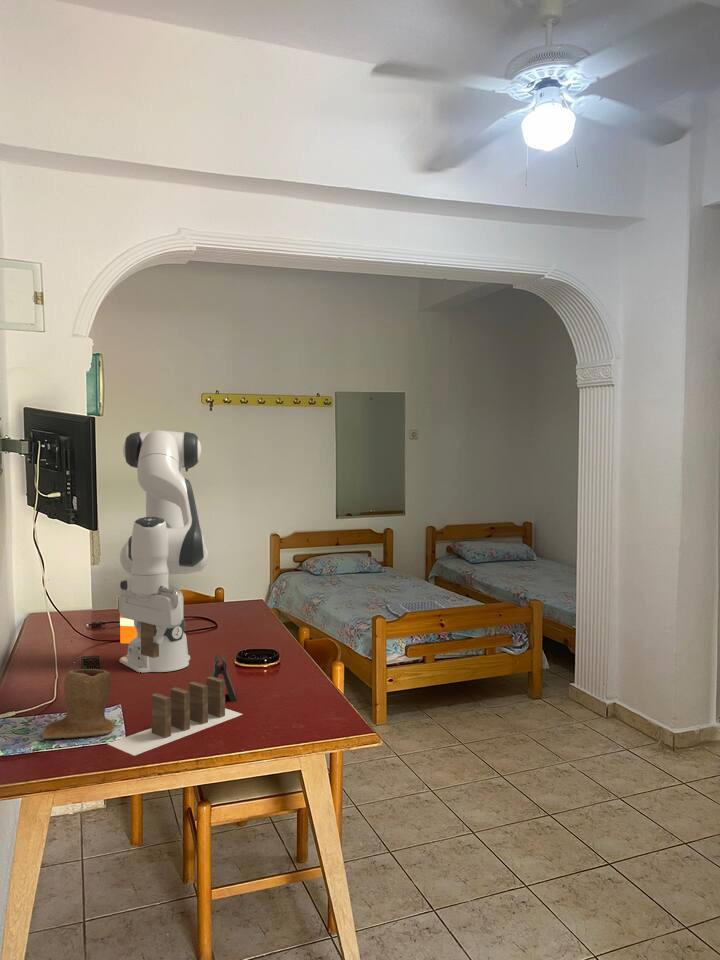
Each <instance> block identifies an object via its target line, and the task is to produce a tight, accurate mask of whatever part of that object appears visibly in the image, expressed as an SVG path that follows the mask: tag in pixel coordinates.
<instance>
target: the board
mask: <svg viewBox="0 0 720 960" xmlns="http://www.w3.org/2000/svg"><path fill="white" fill-rule="evenodd" d="M242 715H243V713H241V712H237V711H234V710H232V709H228V708H226V707H225V716H224V717H221V718H219V717H216V716H213V715H210V714H208V723H205V724H200V723H198V722H195V721H192V720H190V729H189V730H186V731H183V730H180V729H177V728H175V727H172V726H171V736H170V737H168V738H163V737H161V736H158V735H156V734H153V733H152V727H150V728H148V729H144V730H142V731H139V732H136V733H134V734H130V735H128V736H125V737H122V738H120V739H117V740H114V741H111V742H108V743H107V745H108V746H111V747H113V748H114V749H118V750H120V751H122V752H124V753H127V754H129V755H131V756H134V757H135V756H137V755H140V754H143V753H145V752H147V751H151V750H153V749H155V748H159V747H161V746H163V745H167V744H169V743H172V742H174V741H177V740H179V739H182V738H184V737H187V736H190V735H193V734H195V733H198V732H200V731H203V730H206V729H208V728H212V727H214V726H217V725H219V724H221V723H224V722H226V721H230V720H232V719H235V718H237V717H241V716H242Z"/></svg>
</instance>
